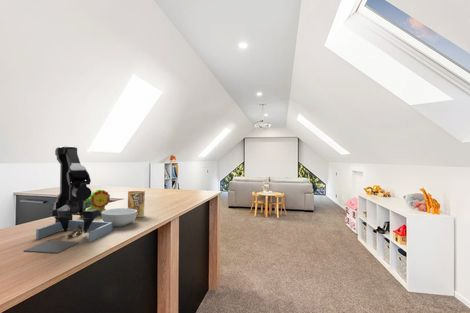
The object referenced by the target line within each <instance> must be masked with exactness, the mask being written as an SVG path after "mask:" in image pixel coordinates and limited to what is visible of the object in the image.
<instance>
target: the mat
mask: <svg viewBox="0 0 470 313" xmlns="http://www.w3.org/2000/svg"><path fill="white" fill-rule="evenodd" d="M78 244H80V242H79V241H69V240H68V241H64V240H51V239H50V240H46V241H44V242H42V243H39V244H37V245H34V246H31V247H29V248H25V249H24V250H23V252H27V253H28V252H30V253H45V254H46V253H48V254H59V253H61V252H63V251H66V250H68V249H70V248H72V247H74V246H77V245H78Z"/></svg>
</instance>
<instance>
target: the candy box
mask: <svg viewBox="0 0 470 313" xmlns="http://www.w3.org/2000/svg"><path fill="white" fill-rule="evenodd" d="M145 192H146V191H145V190H128V191H127V208H128V209H135V210H137V215H136V218H143V217H144V216H145V200H146V199H145V196H146V195H145V194H146V193H145Z"/></svg>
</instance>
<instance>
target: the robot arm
mask: <svg viewBox="0 0 470 313" xmlns="http://www.w3.org/2000/svg"><path fill="white" fill-rule="evenodd" d="M54 155H55V156H56V160H57V161H58V163H59V164H60V165H59V167H60V168H59V169H60V175H59V176H60V178H59V194H58V195H57V196H56V198H55V202H54V205H53V207H52V212H51V217H52V218H53V217H54V219H55V222H54V223H58V222H60V223H61V225H62V227H63V230H62V231H63V232H64V233H66V232H68V230H69V229H68V224H69V220H73V216H80V215H83V217H82V221H84V230H83V233H84V234H86V233H87V232H89V230H88V229H89V227H90V225H91V223H92V221H94V220H95V219H97V218H98V217H99V216H101V214H100V211H99V210H97V209H90V210H87V211H84V210H86V209H87V208H86V207H85V208H84V201H86V199H88V198H89V197H90V196H91V194H92V189H91V188H90V187H88V186H87V185H91V181H92V179H91V177H90V174H89V172H88V171H87V170H88V169H87V168H86V166H84V165H82V164H81V162H80V158H79V154H78V147H77V146H72V145H65V146H58V147H56V148H55V153H54Z"/></svg>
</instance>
